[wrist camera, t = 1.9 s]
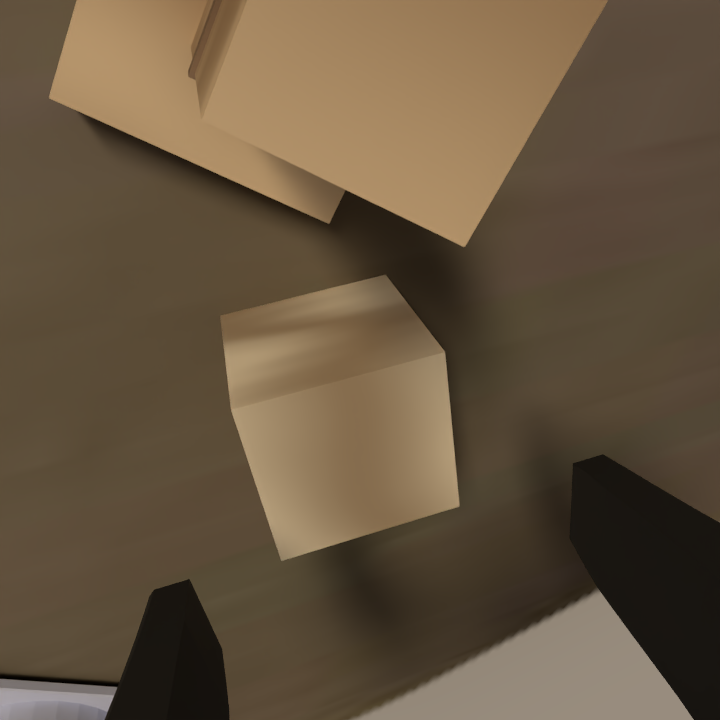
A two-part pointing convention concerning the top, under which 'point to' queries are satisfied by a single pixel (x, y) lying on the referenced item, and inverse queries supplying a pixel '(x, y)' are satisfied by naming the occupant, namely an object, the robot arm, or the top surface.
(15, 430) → the top surface
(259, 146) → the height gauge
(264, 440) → the cube
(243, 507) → the top surface
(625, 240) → the top surface
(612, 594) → the robot arm
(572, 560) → the top surface
